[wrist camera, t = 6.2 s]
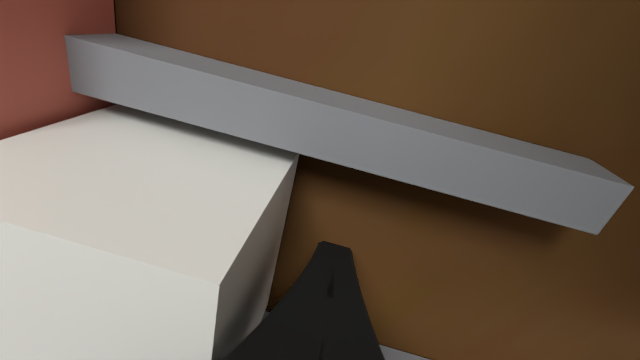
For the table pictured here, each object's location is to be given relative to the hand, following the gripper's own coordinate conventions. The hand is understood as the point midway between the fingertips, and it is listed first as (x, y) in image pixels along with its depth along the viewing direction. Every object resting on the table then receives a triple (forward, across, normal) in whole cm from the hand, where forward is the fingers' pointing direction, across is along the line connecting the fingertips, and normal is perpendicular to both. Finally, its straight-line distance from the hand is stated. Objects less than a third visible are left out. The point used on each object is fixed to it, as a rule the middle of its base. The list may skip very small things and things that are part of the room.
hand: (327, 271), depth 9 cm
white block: (+1, +5, 0) cm, 5 cm away
